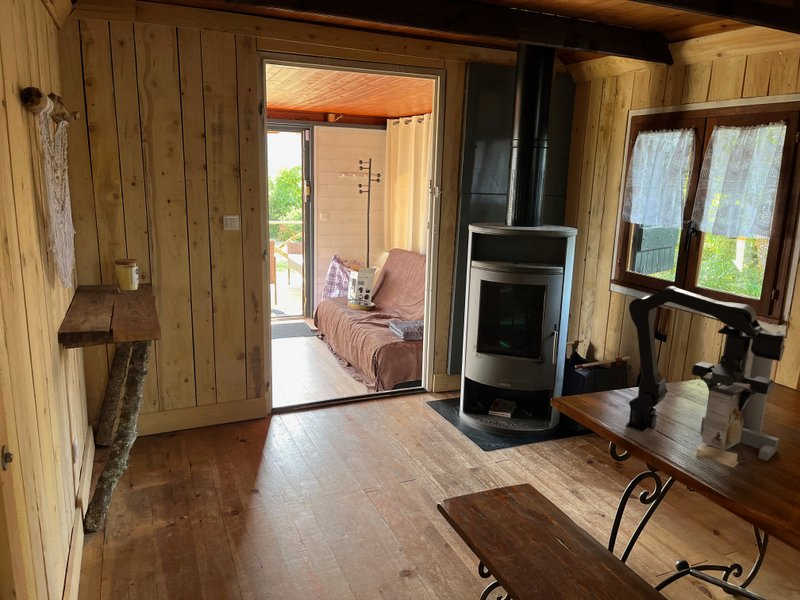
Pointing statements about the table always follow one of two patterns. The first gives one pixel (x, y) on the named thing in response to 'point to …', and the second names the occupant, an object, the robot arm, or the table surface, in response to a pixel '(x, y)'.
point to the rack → (757, 441)
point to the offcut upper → (716, 454)
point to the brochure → (757, 401)
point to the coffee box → (724, 416)
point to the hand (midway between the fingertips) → (726, 406)
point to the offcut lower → (719, 462)
